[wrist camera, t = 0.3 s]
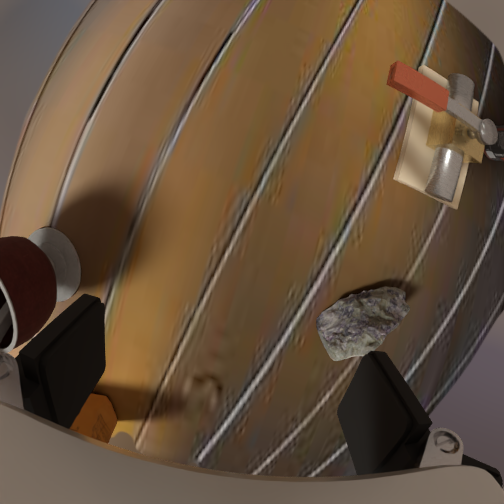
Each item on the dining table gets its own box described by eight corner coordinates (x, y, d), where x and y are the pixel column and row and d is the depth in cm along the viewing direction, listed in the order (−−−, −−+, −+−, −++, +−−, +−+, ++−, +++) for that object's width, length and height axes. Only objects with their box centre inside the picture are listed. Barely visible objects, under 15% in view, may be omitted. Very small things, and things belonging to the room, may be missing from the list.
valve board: (418, 67, 33) (423, 64, 32) (473, 103, 34) (478, 102, 33) (393, 179, 38) (398, 179, 36) (451, 207, 39) (457, 209, 37)
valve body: (439, 74, 32) (471, 61, 24) (466, 93, 33) (500, 84, 24) (414, 187, 37) (449, 192, 28) (444, 202, 37) (480, 210, 29)
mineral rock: (400, 283, 42) (433, 310, 32) (383, 343, 45) (408, 378, 35) (322, 278, 42) (342, 309, 32) (309, 343, 44) (323, 384, 35)
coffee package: (59, 377, 46) (6, 450, 25) (113, 391, 47) (68, 480, 25) (71, 411, 49) (29, 482, 27) (121, 425, 49) (88, 508, 28)
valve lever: (490, 127, 26) (499, 126, 24) (487, 149, 27) (496, 149, 25) (391, 63, 25) (398, 58, 23) (386, 86, 25) (393, 82, 24)
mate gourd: (18, 222, 38) (-69, 254, 19) (80, 221, 39) (-14, 259, 19) (32, 308, 42) (-37, 364, 23) (92, 317, 43) (26, 391, 23)
